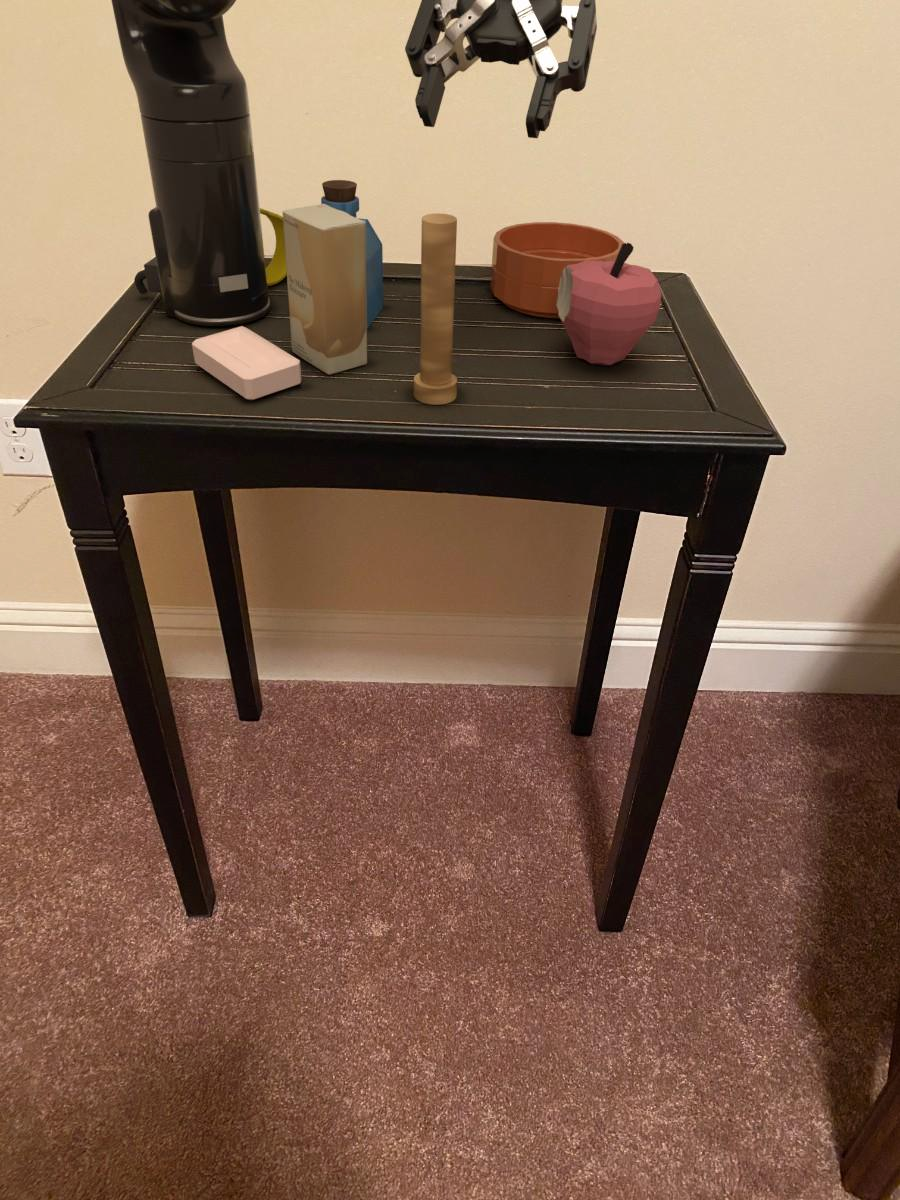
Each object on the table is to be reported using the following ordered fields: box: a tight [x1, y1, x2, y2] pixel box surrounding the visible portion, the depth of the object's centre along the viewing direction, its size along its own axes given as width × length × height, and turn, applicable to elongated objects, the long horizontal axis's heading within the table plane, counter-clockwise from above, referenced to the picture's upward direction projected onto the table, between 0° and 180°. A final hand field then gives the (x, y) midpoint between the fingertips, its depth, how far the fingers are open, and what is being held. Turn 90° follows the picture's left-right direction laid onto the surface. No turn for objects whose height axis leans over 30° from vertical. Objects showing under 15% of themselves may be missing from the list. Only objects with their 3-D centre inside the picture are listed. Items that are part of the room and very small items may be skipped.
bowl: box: [490, 221, 625, 319], centre depth 88 cm, size 13×13×6 cm
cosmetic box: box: [281, 203, 368, 376], centre depth 72 cm, size 6×4×12 cm
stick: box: [413, 212, 458, 406], centre depth 67 cm, size 4×4×14 cm
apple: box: [557, 242, 662, 367], centre depth 75 cm, size 10×9×10 cm
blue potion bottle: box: [320, 179, 384, 329], centre depth 81 cm, size 6×6×12 cm
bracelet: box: [259, 207, 287, 287], centre depth 89 cm, size 7×8×3 cm
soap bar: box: [191, 325, 302, 401], centre depth 72 cm, size 5×9×2 cm, turn 42°
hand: (478, 125), depth 66 cm, fingers open, 8 cm apart
